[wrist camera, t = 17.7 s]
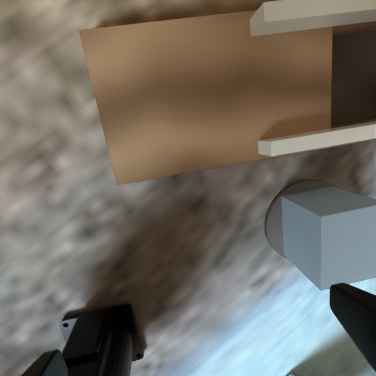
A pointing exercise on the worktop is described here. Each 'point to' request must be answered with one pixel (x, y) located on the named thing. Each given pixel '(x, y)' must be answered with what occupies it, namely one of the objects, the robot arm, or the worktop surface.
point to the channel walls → (303, 20)
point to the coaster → (275, 212)
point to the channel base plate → (222, 89)
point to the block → (330, 235)
